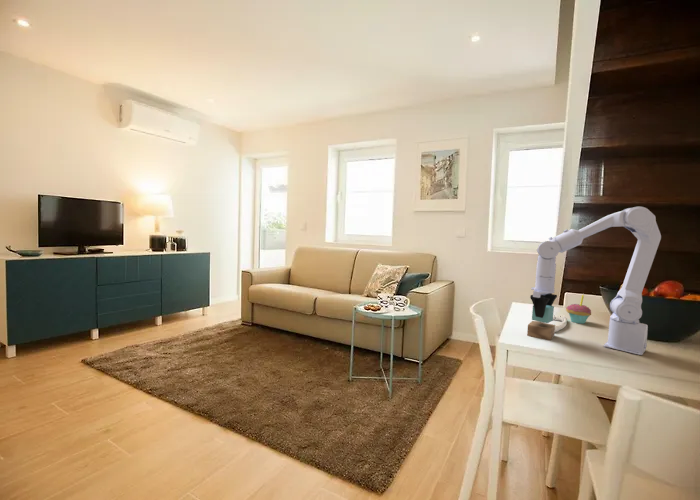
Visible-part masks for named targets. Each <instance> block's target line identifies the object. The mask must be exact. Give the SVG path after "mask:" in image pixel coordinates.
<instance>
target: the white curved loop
mask: <svg viewBox="0 0 700 500" xmlns="http://www.w3.org/2000/svg"><path fill="white" fill-rule="evenodd" d="M556 320H557V322H561V323H560V324H558V325H555V324H554V325H555V330H554V333H558V331H561V330H562V329H564V328H566V326H567V324H568V318H567V317H566V315H564V314H563V315H560V316H559V315H556V314H555V315H554V314H553V321H556ZM536 322H540V321H536Z"/></svg>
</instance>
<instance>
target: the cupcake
mask: <svg viewBox="0 0 700 500" xmlns="http://www.w3.org/2000/svg"><path fill="white" fill-rule="evenodd" d="M584 297H585V294H584V293H582V295H581V298H580V303H572V304H569V305H568V306H566V307H565V311H566V312H567V314H568V315H569V318H570V321H571V322H573V323H574V324H580V325H581V324H586V322H587V320H588V319H589V317H590V316H592V310H591V309H590V307H588V306H587V305H583V301H584Z"/></svg>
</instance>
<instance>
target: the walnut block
mask: <svg viewBox="0 0 700 500" xmlns="http://www.w3.org/2000/svg"><path fill="white" fill-rule="evenodd" d="M554 330H555V324H551V323H545V322H536V321H535V320H532V321H530V322H529V323H528V325H527V333H526V335H527V336H528V337H533V338H537V339H541V340H542V339H543V340H547V341H552V339H553V338H554V336H555V332H554Z"/></svg>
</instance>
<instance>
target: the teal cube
mask: <svg viewBox="0 0 700 500" xmlns="http://www.w3.org/2000/svg"><path fill="white" fill-rule="evenodd" d="M554 308H555V306H554V305H552V306H549V305H546V308H545V313H544V316H543V318H540V317H536V315H535V310H534V305H533V304H532V311H531V314H532V315H531V320H532V321H540V322H542V323H547V324H550V322H552V321H554V320H553V315H554V312H555V311H554V310H555V309H554Z"/></svg>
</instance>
